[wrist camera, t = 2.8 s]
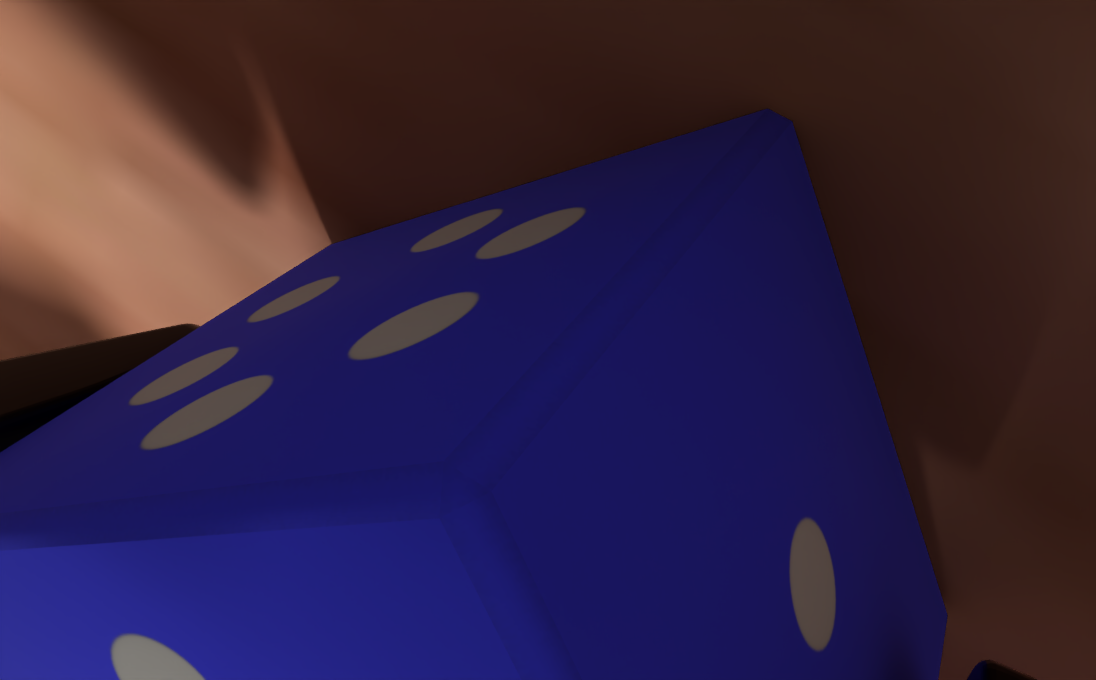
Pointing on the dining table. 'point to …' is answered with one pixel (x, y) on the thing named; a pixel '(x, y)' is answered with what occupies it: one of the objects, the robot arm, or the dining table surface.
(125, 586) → the die
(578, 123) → the dining table surface
